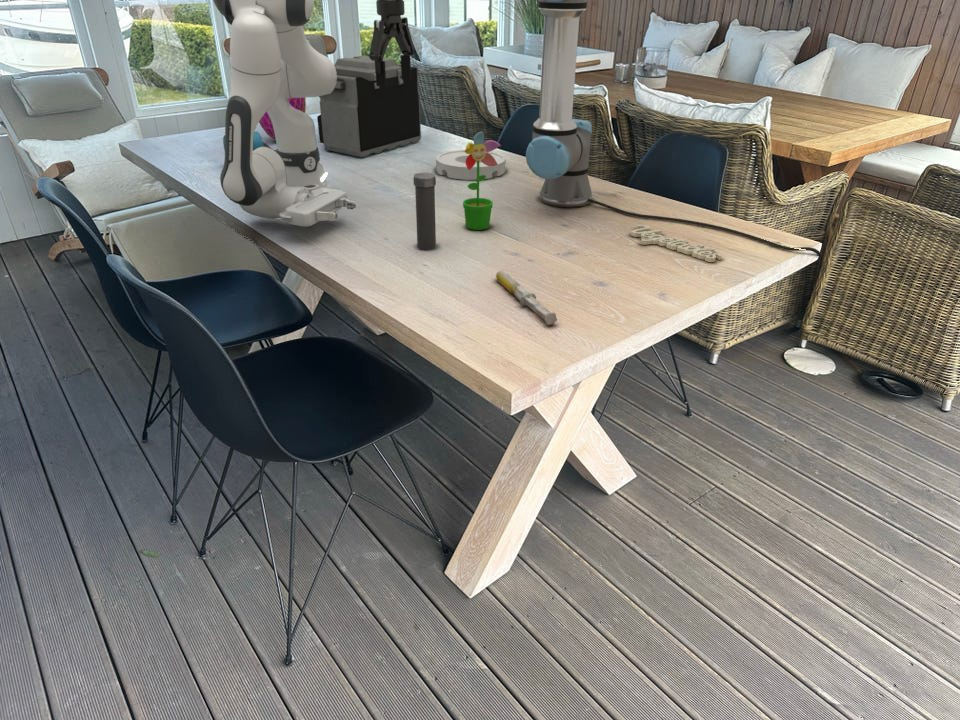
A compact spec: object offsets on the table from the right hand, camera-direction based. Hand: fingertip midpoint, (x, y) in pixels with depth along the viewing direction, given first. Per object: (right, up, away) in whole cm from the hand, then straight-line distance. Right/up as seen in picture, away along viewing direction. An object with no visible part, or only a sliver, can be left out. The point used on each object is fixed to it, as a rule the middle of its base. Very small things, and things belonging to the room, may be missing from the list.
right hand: (394, 83), depth 195 cm
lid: (+11, -36, -34) cm, 51 cm away
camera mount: (-52, -15, +34) cm, 64 cm away
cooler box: (-16, +2, +63) cm, 65 cm away
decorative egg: (-51, +6, +69) cm, 86 cm away
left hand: (-9, -41, -23) cm, 48 cm away
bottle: (+11, -51, -26) cm, 58 cm away
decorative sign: (+72, -50, -23) cm, 91 cm away
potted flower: (+24, -44, -13) cm, 51 cm away
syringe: (+34, -67, -52) cm, 91 cm away
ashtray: (+21, -15, +35) cm, 44 cm away
